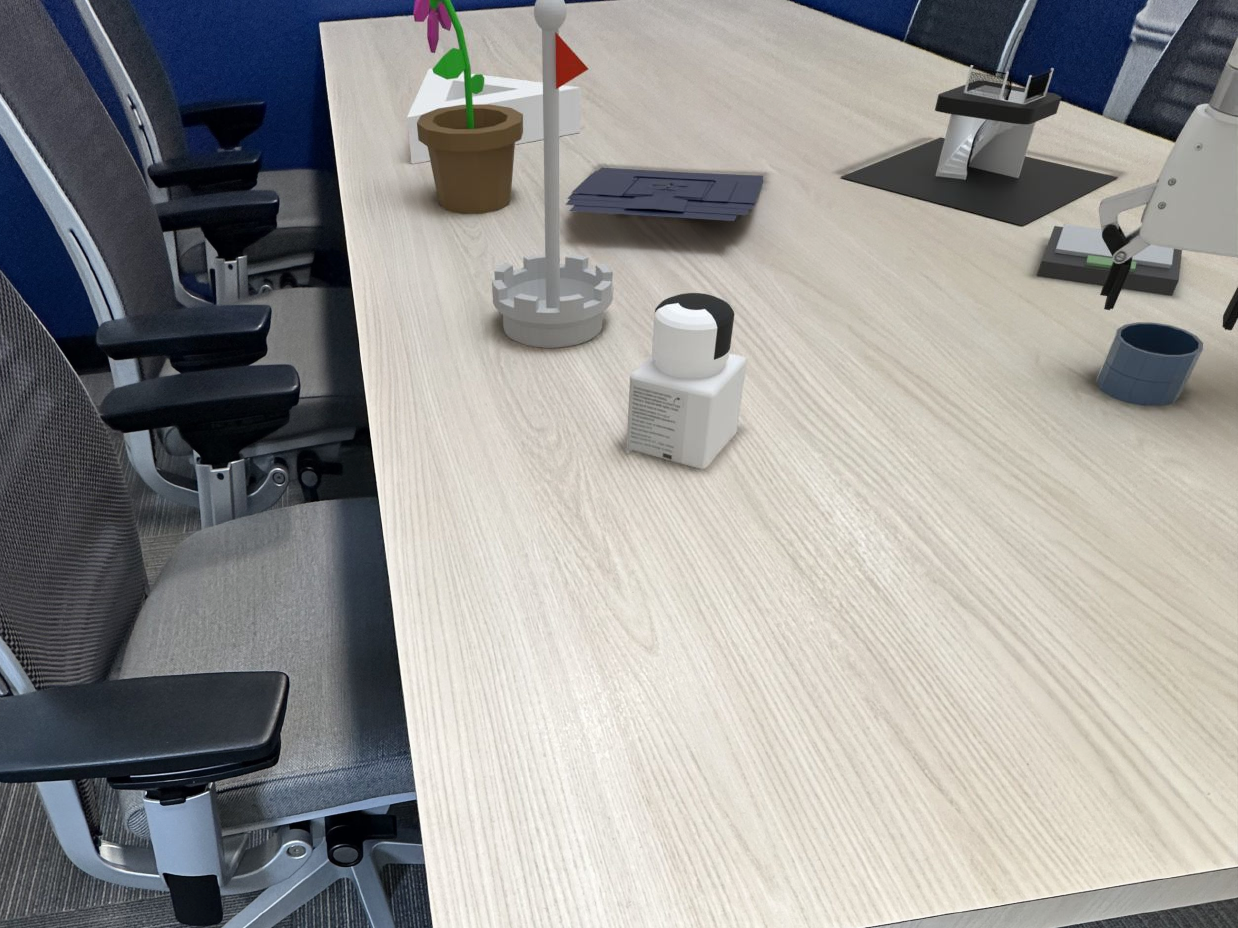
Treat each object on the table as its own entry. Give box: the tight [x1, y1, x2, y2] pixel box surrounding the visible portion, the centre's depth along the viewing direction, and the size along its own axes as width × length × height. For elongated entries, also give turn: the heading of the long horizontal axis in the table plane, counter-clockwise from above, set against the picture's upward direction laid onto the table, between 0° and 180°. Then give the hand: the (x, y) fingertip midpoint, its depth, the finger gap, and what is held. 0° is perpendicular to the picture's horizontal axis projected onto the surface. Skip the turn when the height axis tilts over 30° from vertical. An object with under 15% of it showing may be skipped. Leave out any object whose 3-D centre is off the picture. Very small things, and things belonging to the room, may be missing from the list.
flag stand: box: [491, 0, 614, 349], centre depth 95 cm, size 13×13×30 cm
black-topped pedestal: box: [840, 64, 1119, 226], centre depth 132 cm, size 28×26×13 cm
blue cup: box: [1095, 321, 1204, 407], centre depth 90 cm, size 7×7×5 cm
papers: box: [565, 166, 764, 222], centre depth 130 cm, size 24×30×4 cm
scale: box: [1036, 223, 1183, 297], centre depth 111 cm, size 14×12×3 cm
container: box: [625, 292, 748, 470], centre depth 83 cm, size 8×8×13 cm
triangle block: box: [406, 67, 582, 165], centre depth 155 cm, size 30×26×6 cm
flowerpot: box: [412, 0, 523, 214], centre depth 125 cm, size 14×14×30 cm
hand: (1166, 314), depth 87 cm, fingers open, 9 cm apart
